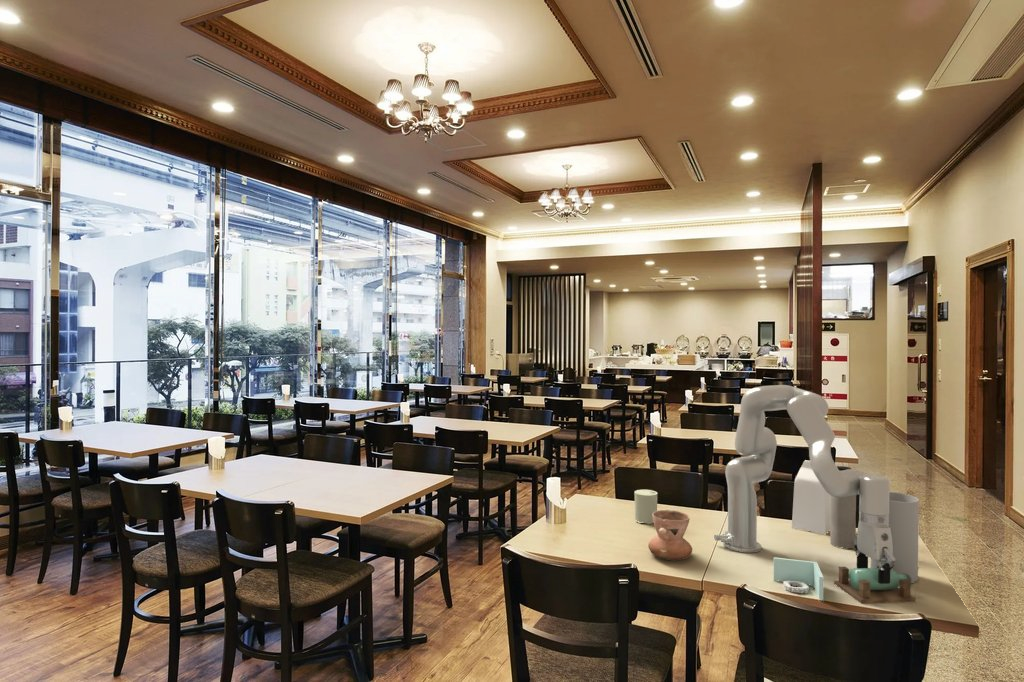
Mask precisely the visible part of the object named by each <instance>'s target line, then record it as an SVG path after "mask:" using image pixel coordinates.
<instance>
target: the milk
mask: <svg viewBox="0 0 1024 682" xmlns="http://www.w3.org/2000/svg"><path fill="white" fill-rule="evenodd" d="M793 485H794V486H793V498H792V499H793V502H792V519H791V529H793V528H795V529H794V530H798V529H801V530H800V531H803V530H806V531H805V532H808V531H811V532H810V533H813V532H815V534H818V533H821V534H820V535H823V534H826V533H827V532H828V531H829V530H830V527H831V495H830V494H828V493H827V492H826V491H825V489H824V488H823V487H822V485H821V484H820V482H819V480H818V479H817V477H816V476H815V474H814V472H813V470H812V467H811V462H810V460H806V459H805V460H804V461H803V462H802V465H801V467H800V468H799V470H798V472H797V474H796V475H795V478H794V484H793ZM829 532H830V531H829ZM829 532H828V533H829ZM828 533H827V534H828ZM827 534H826V535H827Z"/></svg>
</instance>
